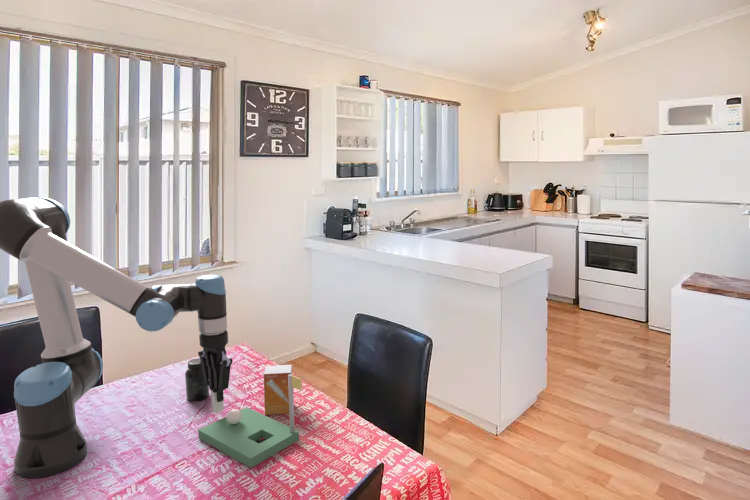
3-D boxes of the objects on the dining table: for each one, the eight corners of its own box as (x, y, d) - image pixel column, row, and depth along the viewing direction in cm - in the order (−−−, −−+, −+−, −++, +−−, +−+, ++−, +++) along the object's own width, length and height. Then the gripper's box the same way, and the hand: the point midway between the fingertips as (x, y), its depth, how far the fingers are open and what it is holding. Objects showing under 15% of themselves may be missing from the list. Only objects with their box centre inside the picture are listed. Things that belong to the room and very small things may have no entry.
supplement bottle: (187, 393, 159) (185, 358, 157) (209, 391, 161) (207, 356, 159) (186, 403, 152) (183, 366, 150) (209, 400, 154) (207, 363, 152)
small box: (264, 415, 144) (263, 374, 142) (266, 405, 151) (264, 365, 149) (292, 414, 146) (291, 372, 144) (293, 404, 152) (292, 364, 150)
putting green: (198, 438, 132) (194, 373, 129) (247, 415, 145) (244, 355, 142) (259, 472, 117) (255, 399, 114) (307, 443, 130) (305, 377, 127)
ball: (223, 424, 135) (223, 410, 134) (236, 418, 138) (235, 405, 137) (232, 428, 132) (232, 414, 132) (245, 422, 136) (244, 409, 135)
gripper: (239, 332, 135) (243, 412, 139) (211, 323, 143) (215, 399, 146) (215, 339, 129) (220, 423, 133) (187, 329, 137) (193, 409, 141)
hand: (218, 410), depth 140 cm, fingers closed
